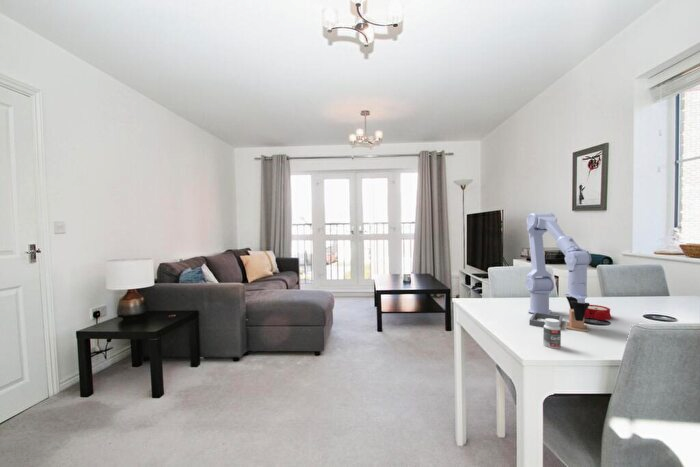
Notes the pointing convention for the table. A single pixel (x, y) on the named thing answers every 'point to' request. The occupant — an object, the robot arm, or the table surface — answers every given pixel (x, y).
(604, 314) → the alarm clock
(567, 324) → the walnut pad
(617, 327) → the table surface
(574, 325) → the block
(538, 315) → the gray rectangular frame
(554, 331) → the pill bottle
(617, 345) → the table surface
